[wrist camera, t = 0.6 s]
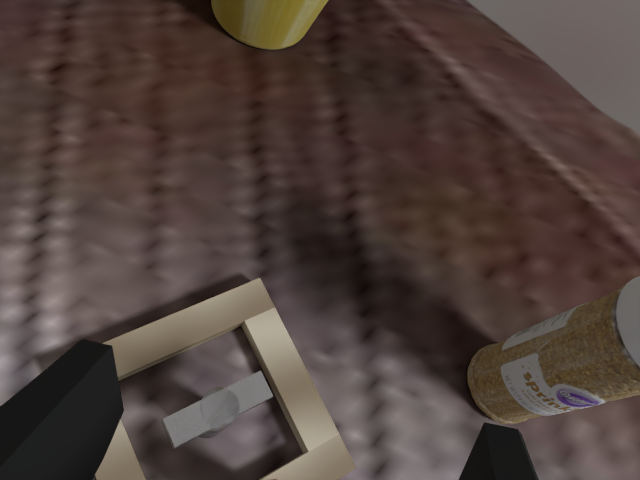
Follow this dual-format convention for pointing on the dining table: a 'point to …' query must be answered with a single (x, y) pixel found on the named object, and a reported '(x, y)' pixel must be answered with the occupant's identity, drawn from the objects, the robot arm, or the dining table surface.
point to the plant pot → (267, 20)
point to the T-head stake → (216, 410)
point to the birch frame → (275, 360)
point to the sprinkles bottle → (563, 361)
